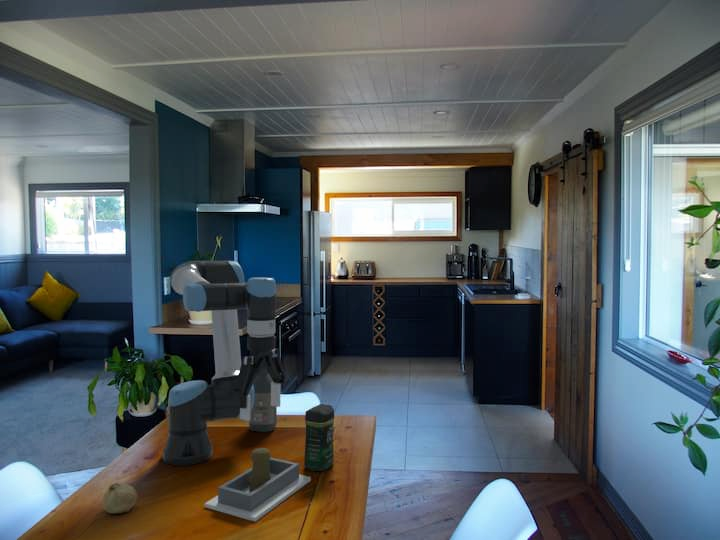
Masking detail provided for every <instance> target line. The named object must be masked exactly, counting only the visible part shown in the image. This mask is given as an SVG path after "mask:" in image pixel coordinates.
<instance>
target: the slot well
mask: <svg viewBox="0 0 720 540" xmlns="http://www.w3.org/2000/svg"><path fill="white" fill-rule="evenodd" d="M268 462H269V469H270V477H271V480H269V481H268V482H266V483H264V484H263V485H261V486H260V487H258V488H257V489H255V490H254V491H252V492H250V483H251V475H252V468H253V466H252V467H250V468H249V469H247V470H245V471H244V472H242V473H240V474H239V475H237V476H235V477H234V478H232V479H230V480H228V481H226V482H225V483H222V485H220V486H218V487H217V495H216V496H214V497H213V498H211V499H209V500H208V501H207V502H205V503H204V508H207V509H210V510H214V511H218V512H219V513H220V512H221V513H224V514H227V515H231V516H234V517H238V518H241V519H245V520H248V521H251V522H255V523H256V522H257V521H258V520H260V519H261V518H262V517H263V516H265V515H266V514H268V513H269V512H271V511H272V510H273V509H274V508H276V507H278V505H280V504H281V503H283V502H284V501H286V500H287V499H288V498H289V497H291V496H292V495H294V493H296V492H298V491H299V490H300V489H302V488H303V487H304V486H306V485H307V484H308V483H309V482H311V481H312V479H311V478H312V477H311V476H308V475H303V474H300V463H296V462H293V461H288V460H284V459H279V458H274V457H272V456H270V460H269V461H268Z"/></svg>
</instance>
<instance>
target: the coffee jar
mask: <svg viewBox="0 0 720 540" xmlns="http://www.w3.org/2000/svg"><path fill="white" fill-rule="evenodd" d="M334 423H335V409H334V407H333V406H332V405H330V404H325V403H320V404H317V405H315V406H313V407H311V408H309V409H308V410H306V411H305V416H304V424H305V442H304V443H305V444H304V446H305V447H304V458H303V460H304V461H303V462H304V463H303V466H304V468H305V469H307V470H309V471H312V472H318V471H319V472H323V471H326V470H327V469H329V468H330V467H331V466H332V465H333V464H334V460H335V459H334V425H335V424H334Z"/></svg>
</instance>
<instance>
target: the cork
mask: <svg viewBox="0 0 720 540" xmlns="http://www.w3.org/2000/svg"><path fill="white" fill-rule="evenodd" d="M271 455H272V454H271V451H270V449H268V448H266V447H258V448H255V449H253V450H252V452H251V455H250V459H251V461H252V467H253V468H252V467H251V468H252V475H251V483H250V492H252V491H254V490H255V489H257V488H258V487H260V486H261V485H263V484H264V483H266V482H268V481H269V480H271V477H270V469H269V462H268V461H269V460H270V457H272V456H271Z"/></svg>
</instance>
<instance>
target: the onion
mask: <svg viewBox="0 0 720 540" xmlns="http://www.w3.org/2000/svg"><path fill="white" fill-rule="evenodd" d="M137 499H138V493H137V491H136V490H135V488H134V487H133V486H131V485H129V484H127V483H118V482H114V483H113V484H110V485H109V486H108V488H107V489H106V491H105V492H104V494H103V497H102V500H101V505H102V508H103V509H104V511H105V512H106V513H109V514H115V515H116V514H124V513H128V512H129V511H130V510H131V509H132V508H133V507H134V505H135V504H136V502H137Z"/></svg>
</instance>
